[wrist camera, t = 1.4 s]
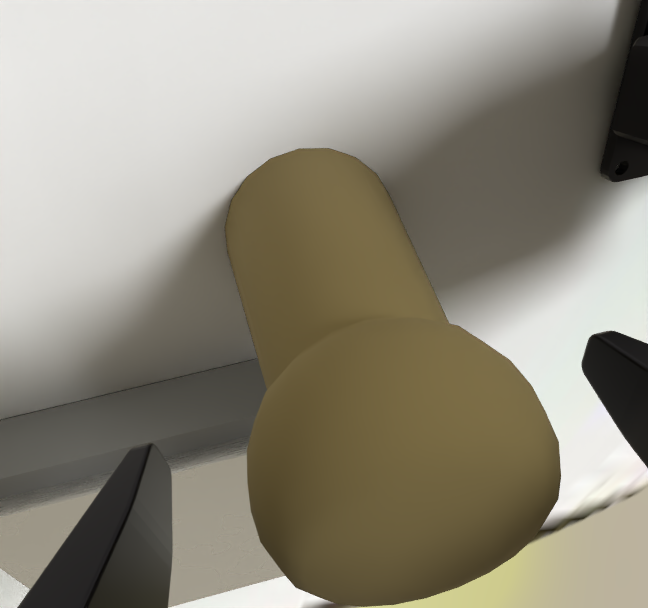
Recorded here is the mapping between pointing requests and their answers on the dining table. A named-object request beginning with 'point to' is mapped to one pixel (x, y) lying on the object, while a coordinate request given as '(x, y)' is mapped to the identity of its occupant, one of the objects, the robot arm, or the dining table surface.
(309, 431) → the cork
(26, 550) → the kitchen scale
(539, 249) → the dining table surface
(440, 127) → the dining table surface
